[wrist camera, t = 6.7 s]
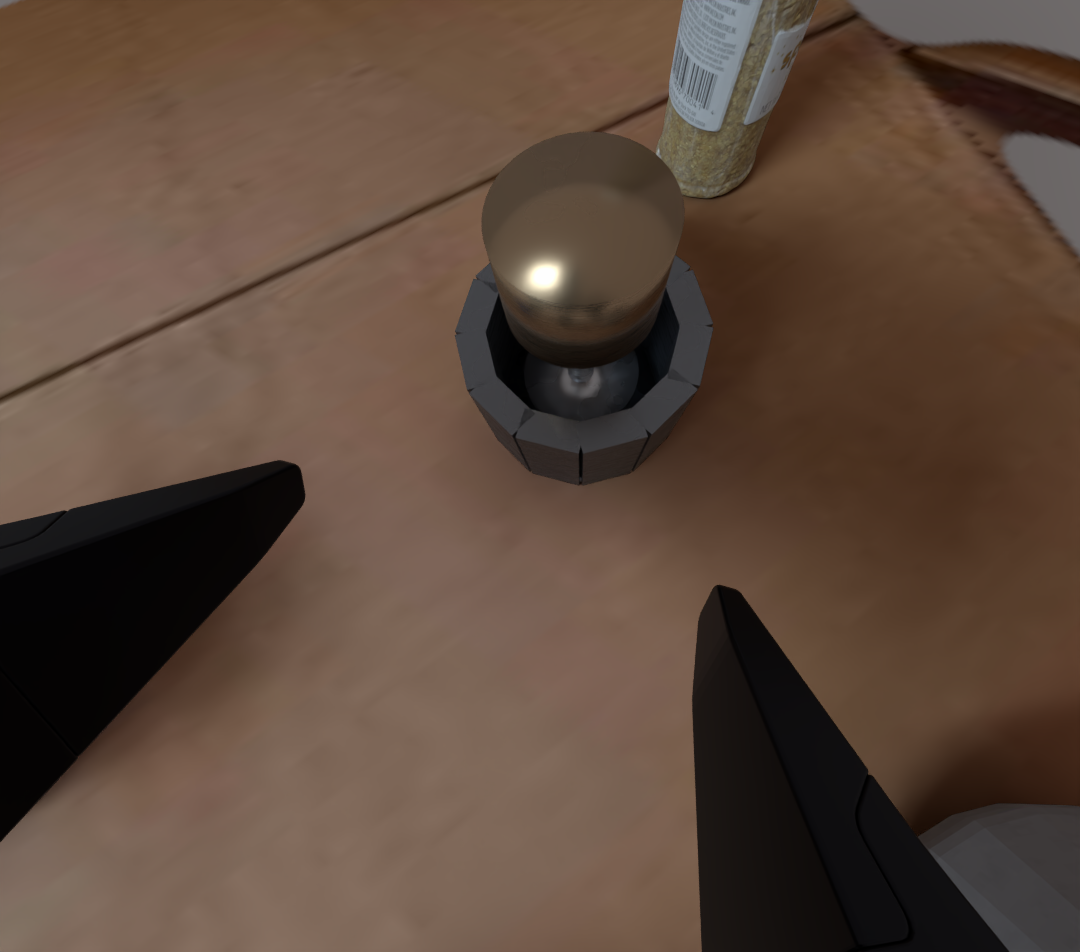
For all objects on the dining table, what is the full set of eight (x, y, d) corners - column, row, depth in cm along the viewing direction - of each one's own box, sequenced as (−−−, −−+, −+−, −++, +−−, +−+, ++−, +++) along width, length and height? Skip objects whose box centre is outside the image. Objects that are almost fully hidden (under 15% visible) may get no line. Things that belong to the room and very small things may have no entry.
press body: (651, 504, 18) (678, 479, 13) (465, 455, 19) (425, 414, 14) (704, 286, 20) (744, 192, 15) (531, 253, 21) (516, 155, 16)
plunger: (621, 442, 17) (658, 323, 9) (512, 414, 18) (455, 281, 10) (648, 339, 18) (703, 147, 10) (542, 317, 19) (513, 119, 10)
